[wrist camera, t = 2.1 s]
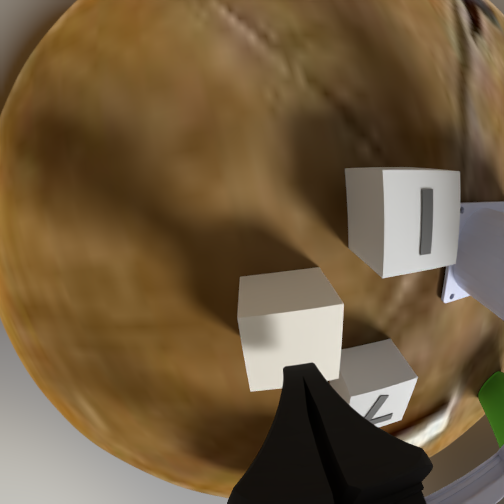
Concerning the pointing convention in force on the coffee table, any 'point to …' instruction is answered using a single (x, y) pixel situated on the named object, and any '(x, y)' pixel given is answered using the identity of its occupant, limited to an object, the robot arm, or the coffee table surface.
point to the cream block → (289, 325)
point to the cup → (494, 404)
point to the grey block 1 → (403, 218)
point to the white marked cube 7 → (375, 381)
